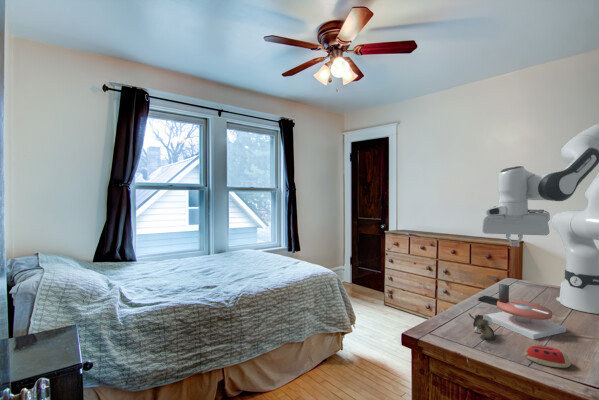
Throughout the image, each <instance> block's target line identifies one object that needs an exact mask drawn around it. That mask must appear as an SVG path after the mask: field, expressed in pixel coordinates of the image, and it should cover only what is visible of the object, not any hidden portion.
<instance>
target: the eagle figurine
mask: <svg viewBox="0 0 599 400" xmlns="http://www.w3.org/2000/svg"><path fill="white" fill-rule="evenodd" d="M468 315H469V317H470V318H471V319H472V320H473V323H472V325H473V328H474V330H473V333H477V332H479V330H481V333H480V335H479V338H480V339H481V340H483V341H485V342H488V341H489V342H490V341H493V340H495V338H496V335H495V331H494V329H492V327H491V326H493V322H492V320H491V318H490V317H489V316H487V314H484V315H483V314H482V315H481V314H476V315H475V316H473V315H472V314H471V313H468Z"/></svg>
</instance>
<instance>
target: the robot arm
mask: <svg viewBox="0 0 599 400" xmlns="http://www.w3.org/2000/svg"><path fill="white" fill-rule="evenodd" d="M560 155H561V158H562V159H563V161H564V162H565V163H566V164H567V166H566V167H565V168H564V169H562V170H560V171H555V172H550V173H541V174H536V173H533V172H530V171H529V170H527V169H526V168H525V166H524V165H523V166H522V165H516V166H512V167H506V168H504V169H501V170H500V171H499V174H498V177H497V178H498V179H497V180H498V181H497V191H498V195H499V199H498V205H496V206H495V205H494V206H493V207H489V208H487V209H485V211H484V213H485V215H484V217H483V220H482V227H481V229H482V233H483V234H485V235H487V234H488V235H489V234H490V235H505V238H506V239H507V241H508V242H509V247H515V248H518V247H520V243H521V241H522V240H523V237H524V235H525V236H548V235H549V234H550V226H549V221H550V219H551V226H552V229H554V230H555V231H556V232H557V234H558V235H559V237H560V238H561V241H562V243H563V247H564V250H565V269H564V274H563V275H564V280H563V281H561V283H560V290H559V296H557V297H556V298H555V299H556V301H557V302H559V303H560V304H561V305H562V306H564V307H566V308H569V309H573V310H575V311H578V312H579V311H580V312H584V313H588V314H596V315H599V248H598V247H597V245H596V244H595V241H599V172H598V173H597V174H596V176H595V177H594V179H593V180H592V181H591V183H590V184H589V186H588V187H587V189H586V191H585V193H584V198H585V200H586V201H587V202H588V203H587V206H586V207H585V209H584V210H575V209H574V210H573V209H571V210H570V209H569V210H563V211H560V212H557V213H555V214H554V215H553V217H552V218H551V215H550V212H549V211H547V210H544V209H529V201H550V202H551V201H552V202H564V201H567V200H568V199H570V198H572V196H573V195H574V193H576V190H577V188H578V187H579V185H580V184H581V183H582V182H583V180H584V179H585V178H586V177H588V175H589V174H590V173H591V172H592V171H593V170H594V169H595V168H596V167H597V166H598V164H599V123H598V124H594V125H591V126H589V127H587V128H586V129H584V130H582V131H581V132H579V133H578V134H576V135H575V136H574V137H572V138H571V139H569V140H568V141H567V142H566V143H565V144H564V145H563V146H562V148H561V150H560ZM511 235H517V237H518V239H517V241H513V240H511ZM594 240H595V241H594Z"/></svg>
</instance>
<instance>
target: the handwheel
mask: <svg viewBox="0 0 599 400" xmlns="http://www.w3.org/2000/svg"><path fill="white" fill-rule="evenodd" d="M498 299H499V301H498V302H497V306H496V307H497V308H498V309H499V310H500V311H501V312H506V313H509V314H512V315H515V316H519V317H523V318H528V319H537V320H551V319H552V318H553V311H552V310H551V309H549V308H548V307H545V306H544V305H543V306H542V305H540V304H538V303H534V302H529V301H523V300H520V299H510V285H508V284H505V283H504V284H503V283H499V284H498Z"/></svg>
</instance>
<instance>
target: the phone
mask: <svg viewBox="0 0 599 400" xmlns="http://www.w3.org/2000/svg"><path fill="white" fill-rule="evenodd" d="M477 301H478V302H482V303H485V304H489V305H493V306H496V307H497V302H498V301H499V297H498V298H497V297H493V296H489V295H482V296H480V297H478V298H477Z"/></svg>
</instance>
